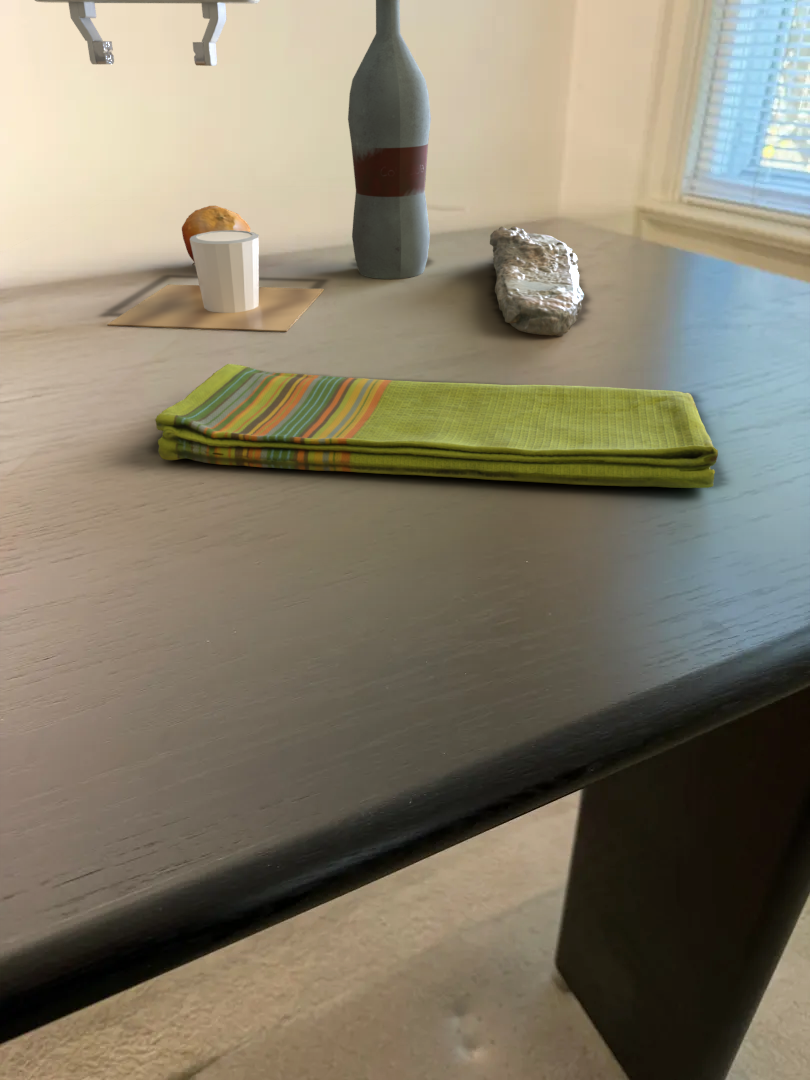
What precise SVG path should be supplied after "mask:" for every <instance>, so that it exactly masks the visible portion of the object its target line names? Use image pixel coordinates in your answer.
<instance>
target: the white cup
mask: <svg viewBox="0 0 810 1080" xmlns="http://www.w3.org/2000/svg"><path fill="white" fill-rule="evenodd" d="M190 243H191V248H192V253H193V257H194V261H193V263H194V262H195V264H194V267H195V271H196V276H197V281H198V285H199V286H200V290H201V295H202V300H203V304H204V308H205V309H206V310H208V311H212V312H218V313H236V312H243V311H248V310H251V309H254V308H256V307H258V305H259V287H260V286H259V284H260V281H259V280H260V269H259V268H260V263H259V262H260V253H259V252H260V249H259V248H260V235H259V234H257V233H256V232H252V231H250V232H248V231H235V230H225V231H212V232H206V233H201V234H197V235H194V236H192V237H191V238H190Z"/></svg>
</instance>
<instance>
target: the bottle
mask: <svg viewBox="0 0 810 1080" xmlns="http://www.w3.org/2000/svg"><path fill="white" fill-rule="evenodd" d="M400 5H401V3H400V0H375V34H374V37H373V39H372V40H371V42H370V43H369V47H368V48H367V50H366V53H365V54H364V56H363V58H362V60H361V61H360V64H359V66H358V68H357V70H356V71H355V74H354V76H353V78H352V80H351V84H350V90H349V96H348V97H349V99H348V111H347V123H348V128H349V137H350V145H351V156H352V165H353V177H354V184H355V185H354V186H355V195H354V206H353V219H352V231H351V239H352V245H353V246H352V247H353V253H354V254H353V255H354V259H355V263H356V266H357V270H358V273H359V275H362V276H364V277H367V278H372V279H378V280H379V279H381V280H382V279H384V280H399V279H408V278H413V277H417V276H420V275H422V274H423V273H424V272H425V269H426V267H427V262H428V258H429V257H428V256H429V249H430V238H431V233H430V223H429V213H428V207H427V199H426V191H425V190H426V181H427V179H426V178H427V165H428V150H429V138H430V130H431V121H432V117H431V116H432V115H431V106H430V105H431V104H430V95H429V94H430V93H429V90H428V86H427V85H428V84H427V81H426V78H425V76H424V74H423V72H422V71H421V68H420V67H419V65H418V62H417V61H416V60H415V58H414V56H413V54H412V53H411V50H410V48H409V47H408V45H407V43H406V41H405V39H404V38H403V36H402V34H401V11H400V10H401V7H400Z"/></svg>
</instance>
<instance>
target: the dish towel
mask: <svg viewBox="0 0 810 1080" xmlns="http://www.w3.org/2000/svg"><path fill="white" fill-rule="evenodd" d="M696 405H697V404H696V402H695V401H694V396H692V394H691V393H690V392H682V391H677V390H668V389H664V390H663V389H642V388H626V387H625V388H623V387H609V386H587V385H586V386H585V385H584V386H583V385H559V384H558V385H557V384H556V385H553V384H494V383H474V382H438V381H435V382H434V381H433V382H430V381H413V380H391V379H379V378H378V379H377V378H363V377H344V376H333V375H332V376H331V375H322V374H321V375H319V374H316V375H315V374H305V373H293V372H292V373H291V372H288V373H287V372H274V371H273V372H272V371H266V370H260V369H256V368H253V367H250V366H247V365H242V364H236V363H227V364H225V365H224V366H222V367H221V368H219V369H218V370H216V371H215V372H213V373H212V375H210V376H209V377H208V378H207V379H206V380H204V381H203V382H202V383H200V384H199V385H198V386H197V387H195V389H194V390H192V391H191V392H190V393H188V394H187V395H186V396H185V398H184V399H182V400H180V401H178V402H176V403H175V404H173V405H171V406H168V407H167V408H165V409H163V410H162V411H161V412H160V413H158V415H156V416H155V417H156V418H155V419H154V421H155V424H156V429H157V431H161V432H162V433H161V435H162V436H161V437H160V438H159V439H157V445H158V449H157V451H158V454H159V457H160V458H161V459H162V460H165V461H177V460H183V459H188V460H192V461H195V462H201V463H206V464H214V465H222V466H224V465H225V466H245V467H250V468H251V467H252V468H253V467H254V468H272V469H286V470H287V469H288V470H303V471H319V472H320V471H323V472H324V471H325V472H349V473H363V474H364V473H365V474H382V475H383V474H384V475H399V476H400V475H405V476H426V477H440V478H457V479H460V478H461V479H475V480H490V481H507V482H508V481H511V482H527V483H542V484H543V483H546V484H564V485H578V486H579V485H580V486H606V487H607V486H608V487H610V486H611V487H649V488H650V487H652V488H679V489H680V488H681V489H708V488H709V489H710V488H713V487H714V485H715V484H714V480H715V473H716V471H715V469H712V468H711V467H712V466H715V464H716V463H717V460H718V455H719V452H718V451H719V450H718V449H717V448H716V447H714V444H713V441H712V439H711V437H710V435H709V434H708V432H707V430H706V427H705V425H704V423H703V421H702V418H701V416H700V414H699V413H700V412H699V409H698V408H697V406H696Z"/></svg>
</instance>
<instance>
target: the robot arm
mask: <svg viewBox="0 0 810 1080" xmlns="http://www.w3.org/2000/svg"><path fill="white" fill-rule="evenodd" d="M34 1H35V2H36V3H37V2H38V3H45V4H47V3H49V4H52V3H53V4H68V8H69V9H68V10H69V15H70V16H69V17H70V19H71V21H72V23H73V25H75V27H76V29H77V30H78V31H79V33H80V35H81V36H82V38H83V39H84V41H85V42H86V43H87V51H88V57H89V61H90V63H91V64H92V65H113V64H114V63H115V57H114V54H113V51H114V49H113V41H110V40H107V41H106V40H103V38H102V37H101V35H100V33H99V31H98V30H97V28H96V26H95V25H94V22H93V21H92V19H96V18H97V10H96V4H201V13H202V18H203V19H205V20H208V23H207V26H206V29H205V31H204V34H203V36H202V39H201V41H192V50H193V52H194V56H193V61H194V64H195V66H202V67H203V66H204V67H213V66H214V67H215V66H217V65H218V56H217V55H218V54H217V42H218V41H219V38H220V36H221V34H222V32H223V29H224V26H225V24H226V22H227V8H226V4H231V5H233V4H235V5H238V4H243V5H244V4H245V5H248V4H251V5H257V4H258V3H259V2H260V1H261V0H34Z"/></svg>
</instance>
